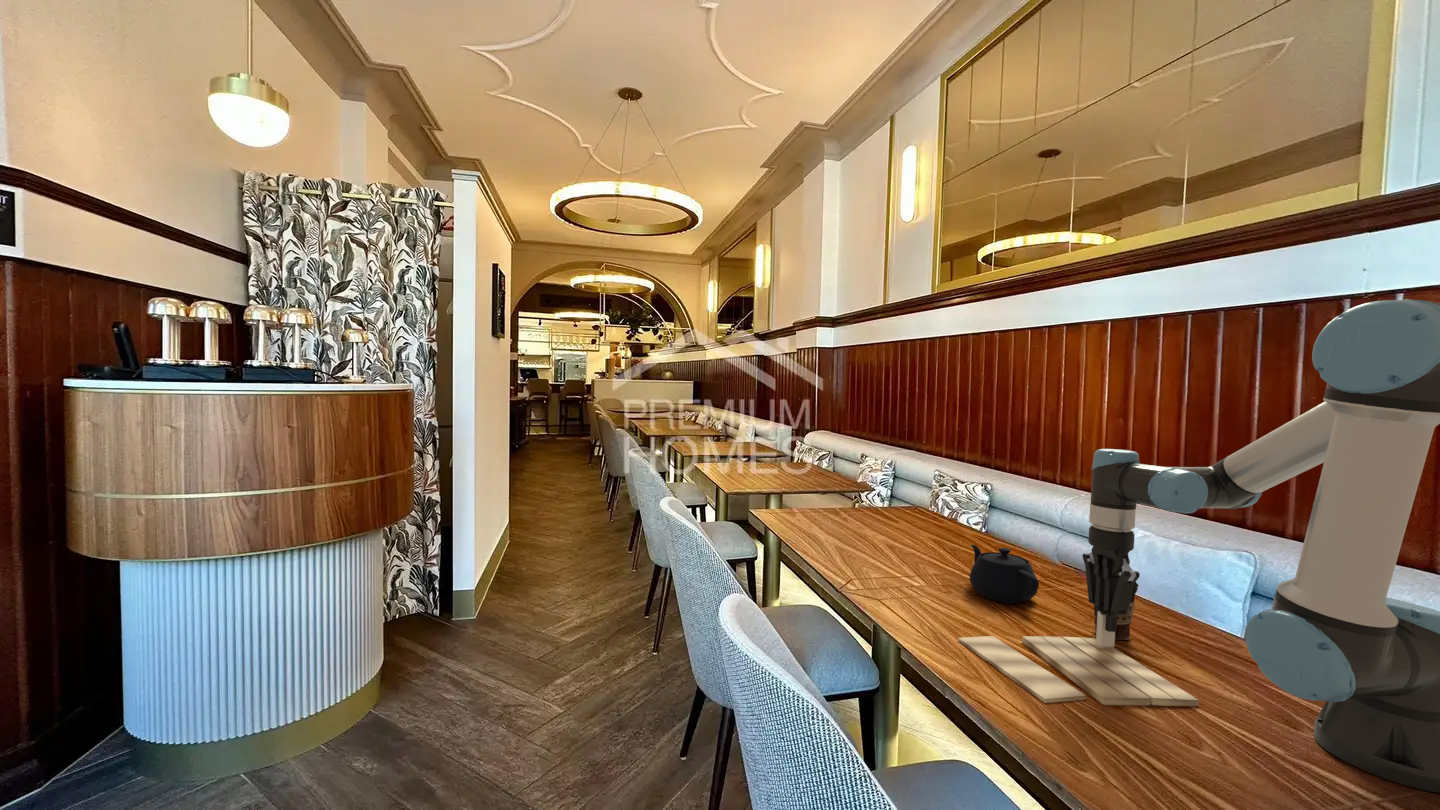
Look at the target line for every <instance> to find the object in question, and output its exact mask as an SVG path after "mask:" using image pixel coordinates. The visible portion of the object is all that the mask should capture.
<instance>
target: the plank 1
mask: <svg viewBox="0 0 1440 810" xmlns="http://www.w3.org/2000/svg"><path fill="white" fill-rule="evenodd" d="M957 641H958V642H959V643H960V642H961V643H960V644H961V645H963V646H965V647H966V648H967V649H969V650H970V651H972V652H973V653H974V652H975V653H974V654H976V655H977V656H979V657H980V658H982V659H983V660H984V661H986V662H987V661H988V662H989V664H990V665H991V664H992V665H991V666H993V667H994V668H995V667H996V668H995V669H997V670H998V671H1000V672H1001V673H1002V674H1004V675H1005V676H1006V677H1008V678H1010V679H1011V680H1012V681H1014V682H1015V683H1017V684H1018V685H1019V686H1020V687H1022V688H1023V689H1025V690H1026V691H1027V692H1029V693H1031V695H1033V696H1034V697H1036V698H1037V699H1038V700H1040V701H1041V702H1043V703H1044V704H1048V703H1060V702H1061V703H1062V702H1073V701H1083V700H1085V701H1086V700H1087V695H1086V694H1085V693H1083V692H1081V691H1080V690H1078V689H1077V688H1075V687H1073V686H1072V685H1070V684H1069V683H1067V682H1066V681H1064V680H1063V679H1061V678H1060V677H1058V676H1056V675H1055V674H1053V673H1052V672H1050V671H1049V670H1047V669H1045V668H1044V667H1042V666H1041V665H1039V664H1038V663H1036V662H1034V661H1033V660H1031V659H1030V658H1028V657H1027V656H1025V655H1023V654H1022V653H1020V652H1019V651H1017V650H1016V649H1014V648H1012V647H1011V646H1009V645H1008V644H1006V643H1004V642H1003V641H1001V640H1000V639H998V638H997V637H995V636H994V635H986V636H985V635H984V636H967V637H958V640H957ZM988 662H987V663H988Z"/></svg>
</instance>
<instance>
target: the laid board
mask: <svg viewBox="0 0 1440 810" xmlns="http://www.w3.org/2000/svg"><path fill="white" fill-rule="evenodd" d="M1021 637H1022V638H1021V641H1022V643H1023V644H1024V645H1025V646H1026V647H1028V648H1030V650H1032V651H1033V652H1034V653H1036V654H1037V655H1039V656H1040V657H1041V658H1043V660H1044V661H1046V662H1047V663H1048V664H1050V665H1051V666H1053V667H1054V668H1055V669H1056V670H1058V671H1059V672H1060V673H1062V674H1063V675H1064V676H1065V677H1067V678H1068V679H1070V680H1071V681H1072V682H1073V683H1075V684H1076V685H1077V686H1078V687H1080V688H1081V689H1082V690H1083V691H1085V692H1086V693H1088V694H1089V695H1090V696H1091V697H1092V698H1094V699H1095V700H1097V701H1098V702H1099V703H1100V704H1102V705H1103V706H1151V704H1150V698H1149V697H1148V696H1146V695H1145V694H1143V693H1142V692H1140V691H1139V690H1137V689H1136V688H1135V687H1133V686H1132V685H1130V684H1129V683H1127V682H1126V681H1124V680H1123V679H1121V678H1120V677H1118V676H1117V675H1115V674H1114V673H1112V672H1111V671H1110V670H1108V669H1107V668H1105V667H1104V666H1102V665H1101V664H1099V663H1098V662H1096V661H1095V660H1093V659H1092V658H1090V657H1089V656H1087V655H1086V654H1085V653H1083V652H1082V651H1080V650H1079V649H1077V648H1076V647H1074V646H1073V645H1071V644H1070V643H1068V642H1067V641H1065V640H1064V639H1062V636H1043V635H1040V636H1038V635H1037V636H1036V635H1035V636H1034V635H1033V636H1032V635H1031V636H1027V635H1025V636H1024V635H1023V636H1021Z"/></svg>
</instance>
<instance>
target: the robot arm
mask: <svg viewBox="0 0 1440 810" xmlns="http://www.w3.org/2000/svg"><path fill="white" fill-rule="evenodd" d="M1311 354H1312V355H1311V356H1312V357H1311V359H1312V365H1313V367H1314V370H1315V371H1317V372H1318V373H1319V377H1320V379H1322V381H1324V382H1325V383H1326V388H1325V391H1324V396H1323V402H1322V403H1319V404H1318V405H1316V406H1314V407H1312V408H1311V409H1309V410H1307V411H1306V412H1304V413H1302V414H1301V415H1298V416H1297V417H1295V418H1294V419H1292V420H1289V421H1288V422H1285V423H1284V424H1282V425H1281V426H1279V427H1277V428H1276V429H1274V430H1271V431H1270V432H1268V433H1267V434H1265V435H1263V436H1261V437H1259V438H1258V439H1256V440H1254V441H1253V442H1250V443H1249V444H1247V445H1245V446H1244V447H1242V448H1240V449H1239V450H1237V451H1235V452H1233V453H1231V454H1230V455H1227V456H1226V457H1224V458H1223V459H1221V460H1219V461H1217V462H1216V463H1213V464H1212V465H1210V466H1191V467H1190V466H1160V465H1151V464H1146V463H1145V464H1144V463H1141V461H1140V455H1139V453H1138V452H1137V451H1132V450H1128V449H1115V448H1100V449H1096V451H1095V452H1094V453H1093V459H1092V466H1091V469H1090V471H1091V484H1090V485H1091V488H1090V491H1091V492H1090V504H1089V515H1088V517H1089V518H1088V519H1089V520H1088V522H1089V523H1090V524H1091V525H1090V526H1089V527H1088V538H1087V539H1088V544H1089V545H1091V546H1092V548H1091V551H1090V552H1089V553H1082V556H1081V557H1082V560H1083V563H1084V565H1085V577H1086V584H1087V585H1086V586H1087V596H1088V602H1089V603H1090V604H1093V606H1094V605H1095V609H1096V610H1097V613H1096V624H1097V632H1096V631H1095V634H1096V635H1095V638H1096V644H1098V645H1100V646H1105V647H1114V648H1115V641H1116V639H1115V632H1116V630H1117V617H1118V615H1127V611H1128V608H1129V604H1130V600H1131V596H1132V592H1133V589H1134V585H1135V582H1136V583H1137V581H1138V579H1139V578H1140V575H1141V574H1140V572H1139V571H1137V570H1133V568H1132V567H1131V566H1130V564H1131V561H1130V557H1129V553H1130V552H1131V551H1133V550H1134V548H1135V537H1136V536H1135V532H1134V531H1133V530H1134V529H1135V527H1136V511H1137V510H1136V509H1137V504H1138V505H1139V504H1140V505H1144V506H1148V507H1151V508H1152V507H1153V508H1157V509H1161V510H1164V511H1166V512H1168V513H1169V512H1170V513H1174V512H1176V513H1181V514H1194V513H1195V512H1197V511H1198V510H1200V509H1225V510H1226V509H1227V510H1235V509H1236V510H1237V509H1239V508H1247V507H1248V508H1249V507H1250V506H1253V505H1255V504H1256V503H1257V502H1258V501H1259V499H1260V498H1261V496H1262V494H1263V492H1265V491H1267V490H1269V489H1270V488H1273V487H1276V486H1277V485H1279V484H1281V483H1284V482H1286V481H1288V480H1290V479H1292V478H1294V477H1297V476H1298V475H1301V474H1302V473H1304V472H1307V471H1309V470H1311V469H1313V468H1316V467H1317V466H1319V465H1321V464H1323V465H1322V469H1321V473H1320V476H1319V477H1320V478H1319V481H1318V484H1317V489H1316V494H1315V497H1314V501H1313V504H1312V509H1311V513H1310V517H1309V520H1308V521H1309V522H1308V525H1307V529H1306V533H1305V537H1304V541H1303V546H1302V549H1301V554H1300V557H1299V560H1298V563H1297V564H1298V565H1297V569H1296V572H1295V577H1293V578H1292V579H1289V580H1286V581H1283V582H1280V583H1279V584H1277V586H1276V588H1275V589H1276V590H1275V594H1274V597H1273V602H1272V606H1271V608H1269V609H1265V610H1262V611H1261V612H1258V613H1257V614H1254V615H1253V616H1252V617H1250V618H1249V620H1248V622H1247V624H1246V627H1245V630H1244V631H1245V633H1244V638H1245V640H1244V641H1245V645H1246V648H1247V651H1248V653H1249V655H1250V658H1251V659H1252V660H1254V662H1255V663H1256V664H1257V667H1258V669H1259V670H1260V671H1261V673H1262V674H1263V675H1264V676H1265V677H1266V678H1267V679H1268V680H1269V681H1270V682H1271V683H1273V684H1274V685H1275V686H1277V687H1278V688H1279V689H1281V690H1283V691H1285V692H1286V693H1288V694H1290V695H1293V696H1294V697H1297V698H1300V699H1304V700H1308V701H1315V702H1318V701H1319V702H1320V701H1321V702H1324V701H1325V703H1324V705H1323V706H1322V708H1321V710H1320V711H1319V714H1318V715H1317V716H1316V718H1315V720H1314V727H1313V738H1314V739H1315V741H1316V742H1317V743H1318V745H1320V746H1321V748H1324V750H1326V751H1327V752H1328V753H1330V754H1332V755H1333V756H1335V757H1337V758H1338V759H1340V760H1342V761H1343V762H1345V763H1348V764H1350V765H1352V766H1354V767H1356V768H1358V769H1360V770H1363V771H1365V772H1367V773H1369V774H1372V775H1375V776H1377V777H1380V778H1382V779H1385V780H1388V781H1391V782H1394V783H1396V784H1399V785H1404V786H1407V787H1411V788H1415V789H1417V790H1423V791H1428V792H1432V793H1438V794H1440V611H1439V610H1437V609H1433V608H1430V607H1427V606H1423V605H1420V604H1415V603H1412V602H1409V601H1404V600H1399V599H1395V598H1392V597H1389V596H1388V593H1389V590H1390V585H1391V583H1392V579H1393V575H1394V571H1395V568H1396V564H1397V562H1398V558H1399V554H1400V550H1401V548H1402V544H1403V540H1404V537H1405V533H1406V529H1407V526H1408V523H1409V520H1410V516H1411V512H1412V509H1413V505H1414V502H1415V498H1416V495H1417V491H1418V488H1419V484H1420V480H1421V476H1422V474H1423V470H1424V466H1425V462H1426V459H1427V456H1428V453H1429V450H1430V445H1431V443H1432V442H1431V441H1432V437H1433V434H1434V431H1435V429H1436V427H1437V426H1439V425H1440V302H1435V301H1428V300H1421V299H1419V300H1417V299H1410V298H1408V299H1407V298H1406V299H1393V300H1391V299H1390V300H1389V299H1387V300H1376V301H1370V302H1366V303H1365V302H1364V303H1362V304H1359V305H1356V306H1354V307H1352V308H1349V309H1347V310H1346V311H1344V312H1343V313H1341V314H1339V315H1336V317H1333V319H1332V320H1331V321H1329V322H1328V323H1327V324H1326V325H1325V326H1324V327H1323V328H1322V330H1321V331H1320V332H1319V334H1318V336H1317V337H1316V339H1315V342H1314V344H1313V348H1312V353H1311ZM1094 596H1095V597H1094ZM1387 596H1388V597H1387Z"/></svg>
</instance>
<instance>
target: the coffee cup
mask: <svg viewBox="0 0 1440 810" xmlns="http://www.w3.org/2000/svg"><path fill="white" fill-rule="evenodd" d="M1138 587H1139V584H1138V583H1137V581H1136V582H1135V585H1134V589H1133V592H1132V596H1131V600H1130V604H1129V608H1128V611H1127V615H1118V617H1117V630H1116V632H1115V640H1118V641H1127V640H1130V639H1132V638H1131V633H1130V631H1131V629H1130V626H1131V625H1132V621H1133V620H1132V619H1133V616H1134V613H1135V606H1136V604H1135V597H1136V593H1137V592H1138V590H1139V589H1138ZM1094 597H1095V596H1094ZM1093 609H1094V610H1093V611H1094V613H1093V614H1094V626H1095V627H1094V630H1095V633H1096V632H1097V624H1096V613H1097V610H1096V609H1095V605H1094V604H1093Z"/></svg>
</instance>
